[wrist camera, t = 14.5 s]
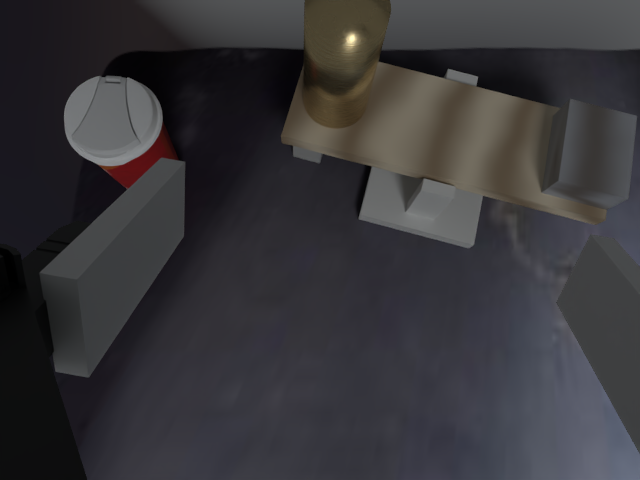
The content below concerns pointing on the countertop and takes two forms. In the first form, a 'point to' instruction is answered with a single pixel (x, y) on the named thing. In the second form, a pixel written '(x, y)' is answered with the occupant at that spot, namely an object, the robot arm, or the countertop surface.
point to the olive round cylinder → (341, 57)
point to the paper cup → (117, 127)
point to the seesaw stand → (418, 199)
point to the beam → (483, 142)
